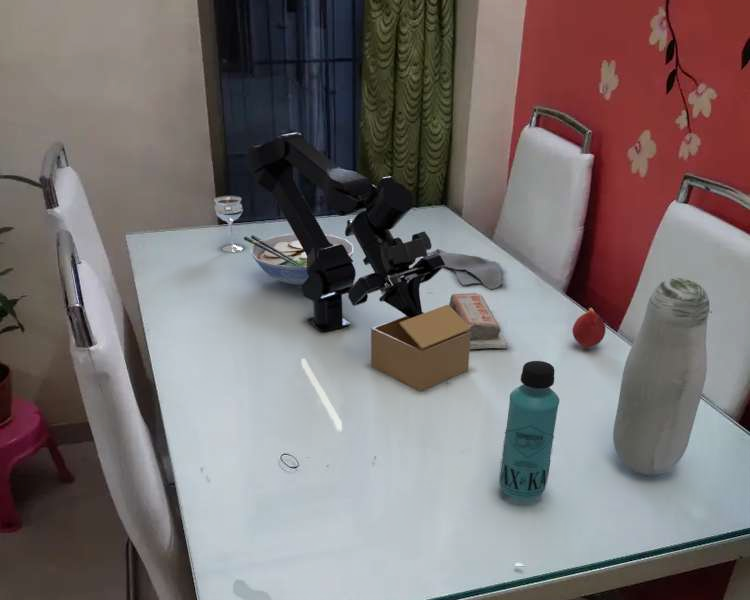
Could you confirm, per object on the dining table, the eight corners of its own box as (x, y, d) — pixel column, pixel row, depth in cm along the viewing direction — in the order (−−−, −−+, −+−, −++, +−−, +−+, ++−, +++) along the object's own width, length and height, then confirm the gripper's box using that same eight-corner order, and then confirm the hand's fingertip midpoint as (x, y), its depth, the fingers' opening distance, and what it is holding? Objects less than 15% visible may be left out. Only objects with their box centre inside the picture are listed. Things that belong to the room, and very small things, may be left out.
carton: (468, 370, 140) (471, 332, 136) (420, 391, 133) (422, 352, 129) (418, 347, 148) (419, 310, 144) (371, 366, 141) (371, 328, 137)
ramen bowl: (377, 287, 173) (377, 250, 169) (286, 310, 162) (284, 272, 158) (319, 255, 191) (318, 222, 186) (233, 274, 180) (230, 239, 175)
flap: (470, 329, 135) (471, 328, 135) (422, 349, 129) (422, 347, 129) (447, 305, 137) (448, 304, 137) (398, 323, 131) (399, 322, 131)
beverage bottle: (492, 483, 110) (506, 355, 100) (539, 481, 111) (557, 353, 100) (503, 511, 105) (518, 378, 94) (551, 508, 106) (572, 376, 95)
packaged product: (440, 291, 158) (489, 289, 159) (439, 313, 161) (487, 312, 162) (456, 327, 143) (510, 325, 144) (455, 352, 146) (507, 349, 147)
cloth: (524, 285, 174) (525, 275, 173) (468, 292, 170) (469, 282, 169) (473, 248, 195) (474, 239, 194) (422, 255, 191) (423, 245, 190)
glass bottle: (694, 479, 111) (744, 292, 96) (630, 491, 109) (672, 301, 94) (654, 443, 119) (695, 265, 104) (594, 453, 117) (627, 273, 102)
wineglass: (219, 244, 198) (214, 196, 191) (246, 243, 198) (242, 195, 192) (218, 253, 192) (212, 203, 185) (245, 252, 193) (241, 203, 186)
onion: (604, 345, 148) (611, 305, 144) (598, 357, 144) (605, 317, 140) (574, 339, 150) (580, 300, 146) (567, 351, 146) (572, 311, 142)
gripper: (358, 229, 125) (404, 315, 124) (440, 207, 135) (483, 286, 134) (328, 265, 134) (371, 344, 133) (407, 241, 144) (448, 315, 143)
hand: (420, 321), depth 136 cm, fingers closed
